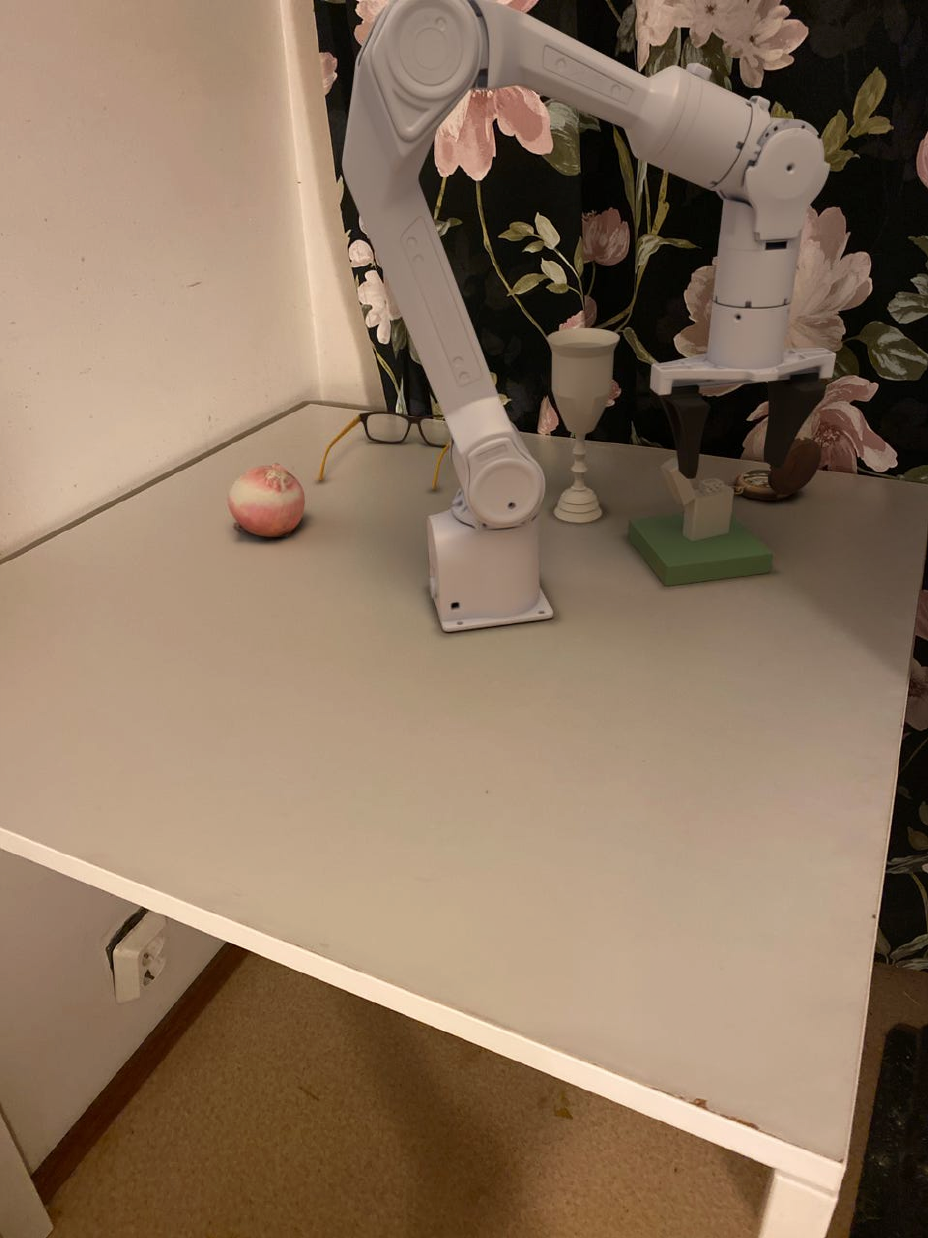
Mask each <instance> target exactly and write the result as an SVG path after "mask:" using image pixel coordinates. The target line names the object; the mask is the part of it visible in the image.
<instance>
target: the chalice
mask: <svg viewBox="0 0 928 1238" xmlns="http://www.w3.org/2000/svg"><path fill="white" fill-rule="evenodd" d="M620 337H621V336H620V335H619V334H618V333H617V332H615V331H611V330H607V329H602V328H594V327H578V328H567V329H562V330H561V329H560V330H558V331H554V332H552V333H550V334H549V335H547V338H546V340H547V342H548V344H549V347H550V349H551V392H552V395H553V398H554V401H555V405H556V408H557V410H558V412H559V415H560V417H561V419H562V421H563V423H564V426H565V428H566V430H567V431H568V432H571V433H572V434H574V436H575V443H574V447H573V449H571V453H572V454H573V456H574V459H575V460H574V464H573V465H572V466H571V467H570V471H572V472H573V476H574V481H573V484H572V485H571V486H570V487H568V488H566V489H565V490H564V491H563V492H562V493H561V495H560V498H559V500H558V501H557V505H556V507H555V508H554V510H553V515H554V516H555V517H556V518H558V519H559V520H561V521H563V522H569V523H576V524H579V523H581V524H582V523H589V522H594V521H596V520H598V519H599V518H601V516H602V515H603V510H602V508H601V507H600V506H599V505H600V502H599V501H598V499H597V495H596V494H595V492H594V491H593V490H592V489H591V488H589V487H587V486H586V485H585V482H584V477H585V473H586V472H587V471H588V470H589V468H588V467H587V466H586V464H585V457H586V455H587V454H588V452H589V451H588V449H587V448H586V442H585V439H586V436H587V434H589V433H591V432H593V431H594V430H595V429H596V427H597V425H598V422H599V421H600V419H601V417H602V415H603V413H604V411H605V410H606V407H607V404H608V401H609V399H610V396H611V393H612V390H613V389H612V388H613V371H614V353H615V352H614V351H615V349H616V347H617V345H618V343H619V342H620Z"/></svg>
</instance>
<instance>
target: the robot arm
mask: <svg viewBox="0 0 928 1238" xmlns="http://www.w3.org/2000/svg"><path fill="white" fill-rule="evenodd" d="M711 75H712V69H711V68H709V67H707V66H705V65H703V64H701V63H699V62H690V63H688V64H687V65H686V67H685V68H682V67H681V66H678V65H676V64H675V65H670V66H668V67H665V68H664V69H662V70H660V71H658V72H656V73H654V74H652V75H651V76H649V77H647V76H645V75H643V74H641V73H639V72H638V71H636V70H634V69H632V68H631V67H630V68H629V67H628V66H626V65H625V64H623V63H621V62H618V61H617V60H615V59H613V58H611V57H609V56H607V55H606V54H603V53H601V52H599V51H597V50H596V49H594V48H592V47H590V46H588V45H586V44H584V43H583V42H580V41H579V40H577V39H575V38H573V37H571V36H569V35H567V34H566V33H563V32H562V31H560V30H558V29H556V28H554V27H552V26H550V25H548V24H546V23H545V22H543V21H541V20H539V19H537V18H535V17H534V16H532V15H529V14H528V13H525V12H523V11H520V10H518V9H516V8H513V7H511V6H508V5H505V4H503V3H500V2H498V1H495V0H389V1H388V3H387V4H386V5H385V6H383V7H382V9H380V11H379V12H378V14H377V15H376V17H375V19H374V21H373V22H372V24H371V26H370V29H369V31H368V33H367V35H366V37H365V39H364V41H363V43H362V46H361V48H360V49H359V51H358V54H357V56H356V59H355V64H354V74H353V82H352V88H351V89H352V90H351V96H350V104H349V110H348V117H347V125H346V131H345V139H344V145H343V153H342V160H341V161H342V162H341V167H342V172H343V176H344V180H345V184H346V185H347V189H348V190H349V193H350V195H351V197H352V201H353V203H354V204H355V207H356V210H357V212H358V214H359V216H360V217H359V218H360V219H361V222H362V224H363V226H364V229H365V231H366V233H367V236H368V238H369V241H370V243H371V246H372V248H373V250H374V252H375V255H376V257H377V260H378V262H379V264H380V267H381V270H382V272H383V274H384V276H385V279H386V281H387V285H388V286H389V288H390V291H391V293H392V296H393V298H394V301H395V302H396V305H397V308H398V310H399V313H400V315H401V318H402V320H403V323H404V325H405V327H406V329H407V331H408V334H409V336H410V339H411V341H412V344H413V346H414V349H415V351H416V353H417V356H418V358H419V361H420V363H421V366H422V367H423V370H424V372H425V375H426V378H427V380H428V382H429V385H430V387H431V389H432V393H433V394H434V397H435V399H436V402H437V404H438V406H439V408H440V411H441V413H442V415H443V416H444V417H443V418H444V421H445V423H446V425H447V427H448V431H449V436H450V437H449V438H450V439H449V441H450V447H449V448H448V455H449V461H450V464H451V466H452V468H453V470H454V472H455V473H456V475H457V479H458V480H459V483H460V486H459V487H458V490H457V492H456V494H455V496H454V499H453V500H452V501H451V508H448V509H447V510H445V511H442V512H439V513H435V514H431V515H428V516H427V518H426V532H427V535H426V536H427V547H428V561H429V562H428V563H429V575H430V576H429V580H428V581H429V593H430V596H431V598H432V599H433V601H434V604H435V608H436V613H437V614H438V618H439V622H440V625H441V628H442V630H443V631H444V632H448V633H449V632H456V631H457V632H458V631H465V630H472V629H481V628H487V627H494V626H503V625H510V624H516V623H526V622H533V621H540V620H549V619H551V618H553V617H554V611H553V608H552V607H551V605H550V602H549V601H548V599H547V597H546V595H545V593H544V591H543V589H542V588H541V585H540V565H541V564H540V559H541V558H540V557H541V556H540V555H541V554H540V549H541V547H540V546H541V544H540V543H541V542H540V539H541V538H540V537H541V536H540V535H541V534H540V533H541V529H540V527H541V521H540V520H541V515H540V514H541V504H542V502H543V500H544V497H545V494H546V477H545V474H544V471H543V469H542V467H541V466H540V464H539V462H538V461H537V460H535V458H533V456H532V455H531V453H530V451H529V449H528V448H527V446H526V445H525V444H526V443H524V441H523V437H522V435H521V432H520V431H519V429H518V427H517V426H516V425H515V424H514V423H513V422H512V421H511V420H510V418H509V416H508V413H507V411H506V409H505V407H504V405H503V402H502V400H501V398H500V395H499V393H498V390H497V388H496V385H495V382H494V380H493V377H492V375H491V371H490V369H489V366H488V363H487V361H486V358H485V355H484V353H483V350H482V347H481V344H480V343H479V339H478V337H477V333H476V331H475V329H474V326H473V324H472V321H471V318H470V316H469V313H468V309H467V307H466V305H465V302H464V299H463V297H462V296H463V295H462V294H461V291H460V288H459V286H458V283H457V281H456V277H455V275H454V272H453V270H452V267H451V264H450V261H449V259H448V256H447V253H446V251H445V249H444V245H443V243H442V241H441V237H440V235H439V232H438V230H437V227H436V224H435V222H434V219H433V216H432V213H431V211H430V208H429V206H428V202H427V200H426V197H425V195H424V192H423V189H422V187H421V184H420V181H419V178H420V177H419V176H420V173H421V171H422V168H423V166H424V163H425V161H426V158H427V157H428V154H429V152H430V149H431V147H432V145H433V143H434V141H435V139H436V135H437V133H438V132H437V130H438V129H439V128H440V126H441V125H442V123H443V122H444V121H445V120H446V119H447V118H448V117H449V115H451V113H452V112H453V111H454V110H455V109H456V108H457V106H458V105H459V104H460V103H461V101H462V100H463V99H464V98H465V96H466V95H467V94H468V92H469V91H490V90H491V91H492V90H497V89H504V88H510V87H516V86H519V87H521V88H525V89H527V90H530V91H533V93H534V92H535V93H537V94H539V95H542V96H544V97H547V98H549V99H552V100H554V101H556V102H559V103H561V104H564V105H566V106H569V107H571V108H574V109H577V110H579V111H581V112H584V113H585V114H589V115H591V116H594V117H596V118H599V119H601V120H603V121H606V122H608V123H611V124H614V125H616V126H619V127H621V128H623V129H624V132H625V135H626V137H627V140H628V143H629V146H630V149H631V152H632V154H633V156H634V158H636V159H638V160H640V161H642V162H645V163H647V164H650V165H652V166H654V167H657V168H658V169H661V170H663V171H664V172H668V173H670V174H672V175H674V176H677V177H679V178H682V179H683V180H685V181H688V182H691V183H693V184H695V185H698V186H699V187H702V188H704V189H707V190H709V191H712V192H716V194H717V195H718V196H719V198H720V199H721V200H722V201H723V203H722V210H721V211H722V213H721V222H720V231H719V238H718V247H717V255H716V256H717V257H716V267H715V276H714V286H713V296H712V301H711V313H710V314H711V315H710V324H709V331H708V332H709V333H708V340H707V341H708V342H707V352H706V353H702V354H698V355H693V356H689V357H684V358H680V359H676V360H672V361H667V362H659V363H652V364H651V365H650V366H651V368H650V383H649V389H651V390H652V391H653V392H654V393H655V394H657V395H658V398H659V400H660V402H661V404H662V407H663V409H664V412H665V413H666V414H665V415H666V417H667V419H668V422H669V426H670V429H671V432H672V436H673V440H674V445H675V446H674V447H675V452H676V459H677V460H678V470H679V472H681V473H682V474H683V475H684V476H685V477H686V478H687V479H689V480H691V479H696V477H697V475H698V470H699V463H700V462H699V461H700V449H701V443H702V442H701V441H702V437H703V432H704V428H705V424H706V422H707V418H708V415H709V412H710V410H711V405H710V404H709V403H708V402H706V401H705V400H704V399H703V393H702V392H700V389H709V388H716V387H726V386H738V385H746V384H757V383H765V382H767V393H768V394H767V395H768V396H767V399H768V401H767V402H768V403H767V405H768V406H767V409H768V411H767V424H766V430H765V436H764V443H763V461H764V462H765V463H766V464H768V465H769V467H770V466H772V467H773V468H774V469H779V468H782V467H783V464H784V462H785V459H786V457H787V455H788V453H789V450H790V448H791V446H792V444H793V442H794V440H795V439H797V437H798V436H797V435H799V432H800V430H801V429H802V428H803V426H804V424H805V423H806V422H807V420H808V419H809V417H810V415H811V414H812V413H813V412H814V410H815V409H816V408H817V407H818V406H819V405H820V403H821V402H822V401H823V400H824V399H825V396H826V391H827V385H826V384H824V383H822V382H820V381H819V379H821V380H823V379H824V380H825V379H832V378H833V376H834V370H835V363H836V358H837V353H836V352H833V351H832V350H829V349H827V348H826V347H825V348H824V347H815V348H786V341H787V334H788V328H789V327H788V326H789V321H790V314H791V308H792V302H793V295H794V288H795V282H796V275H797V268H798V262H799V254H800V248H801V241H802V236H803V230H804V228H805V222H806V216H807V213H808V210H809V207H810V205H812V203H813V201H815V199H816V198H817V196H819V194H820V193H821V191H822V190H823V188H824V186H825V185H826V181H827V179H828V177H829V173H830V170H831V164H830V163H829V162H826V161H825V147H824V142H823V140H822V138H819V137H818V135H819V132H818V131H817V129H816V128H815V127H814V126H813V125H812V124H810V123H809V122H807V121H805V120H802V119H798V118H784V117H771V114H770V112H769V109H770V106H771V102H770V100H769V99H766V98H764V97H762V96H760V95H753V96H751V97H750V98H749V99H747V98H745V97H743V96H741V95H738V94H737V93H735V92H732V91H730V90H728V89H726V88H724V87H722V86H720V85H718V84H716V83H715V82H712V81H710V80H709V79H710V77H711Z"/></svg>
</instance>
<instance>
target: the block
mask: <svg viewBox="0 0 928 1238" xmlns="http://www.w3.org/2000/svg"><path fill="white" fill-rule="evenodd" d="M684 514H685V512H682V513H672V514H665V515H657V516H656V515H655V516H648V517H647V516H646V517H640V518H631V519H628V529H627V539H628V541H630V543H631V544H632V546H634V548H635V549H636V550H637V552H638V553H639V554H640V556H641V557H642V559H644V561H645V562H646V564H648V565H647V566H648V567H650V569H651V570H652V571H653V572H654V574H655V575H656V577H658V579H659V580H660V582H661V583H662V584H663V585H664V587H671V586H680V585H687V584H695V583H701V582H710V581H717V580H724V579H733V578H740V577H748V576H756V575H763V574H770V573H771V571H772V564H773V558H774V552H772V551H771V550H770V548H768V547H767V546H766V545H765V544H764V542H762V541H761V540H760V539H759V538H758V537H757V536H756V535H754V534H753V533H752V531H751V530H749V529H748V528H747V527H746V526H745V525H744V524H743V523H742V522H741V521H740V520H739V519H738V518H737V517H736V516H735V515H733V514H732V513H731V517H730V525H729V532H728V533H726V534H722V535H717V536H713V537H709V538H704V539H700V540H696V541H691V540H689V539H688V538H686V537H685V536H684V535H682V534H683V524H684Z"/></svg>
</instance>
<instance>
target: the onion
mask: <svg viewBox="0 0 928 1238" xmlns="http://www.w3.org/2000/svg"><path fill="white" fill-rule="evenodd" d="M227 505H228V509H229V511H230V513H231V516H232V518H233V519H234V520H235V521H236V522H234V523H233V525H232V530H233V531H235V532H238V533H241V532H243V531H242V530H240V529H243V530H245V531H247V532H249V533H251V534H253V535H254V534H255V535H257V536H261V537H267V538H272V537H275V538H276V537H278V538H279V537H280V538H283V537H285V538H290V534H291V533H292V531H293V530H294V529H295V528H296V527H297V526H298V525H299V523H300V522H301V519H302V518H303V514H304V510H305V506H306V496H305V491H304V489H303V486H302V484H301V483H300V481H299V480H298V478H296V477H295V476H294V474H292V473H290V471H288V470H287V469H286V468H285V467H283V466H282V465H280V463H277V462H274V463H272V464H271V465H261V466H257V467H255V468H252V469H249V470H248V471H246V472H244V473H243V474H241V475H240V476H239V477H238V478H237V479H236V480H235V481H234V482H233V483H232V485H231V487H230V489H229V492H228V495H227Z"/></svg>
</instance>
